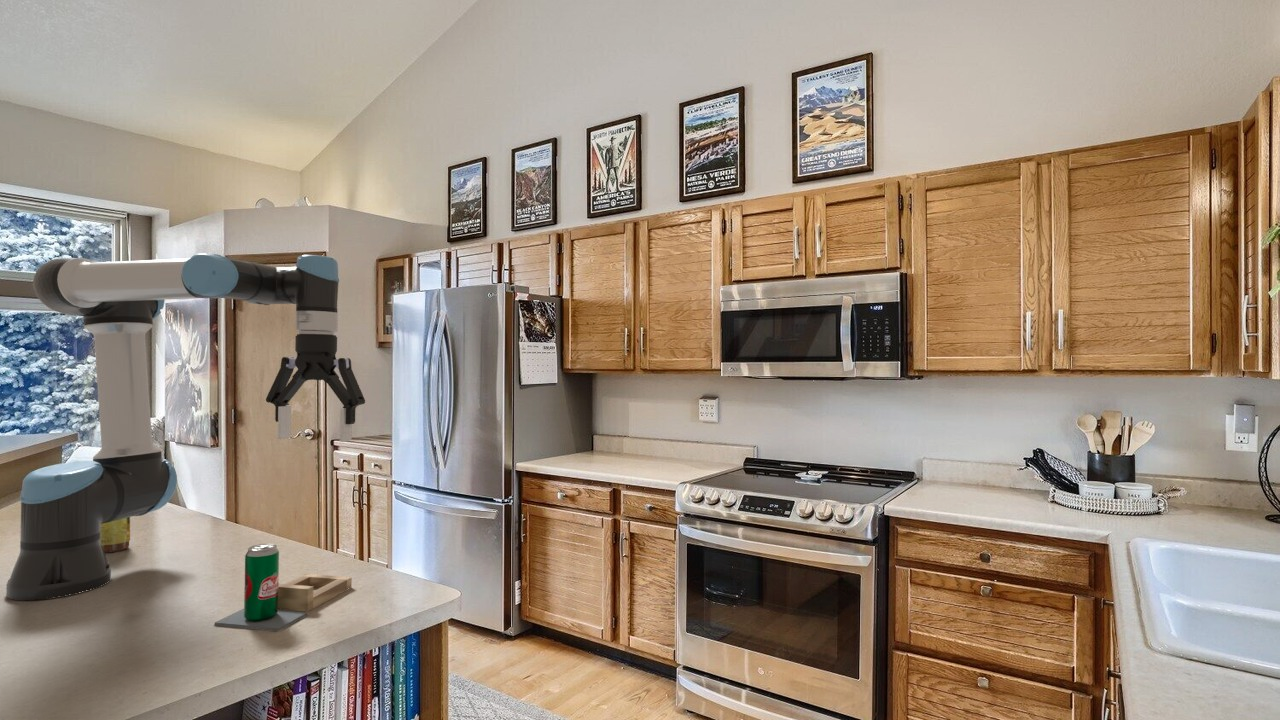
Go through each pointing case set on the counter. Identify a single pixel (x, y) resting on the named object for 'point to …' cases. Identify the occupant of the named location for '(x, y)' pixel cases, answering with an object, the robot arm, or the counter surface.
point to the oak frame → (310, 591)
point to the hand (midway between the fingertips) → (314, 439)
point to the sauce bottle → (115, 535)
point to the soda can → (261, 582)
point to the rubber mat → (273, 624)
